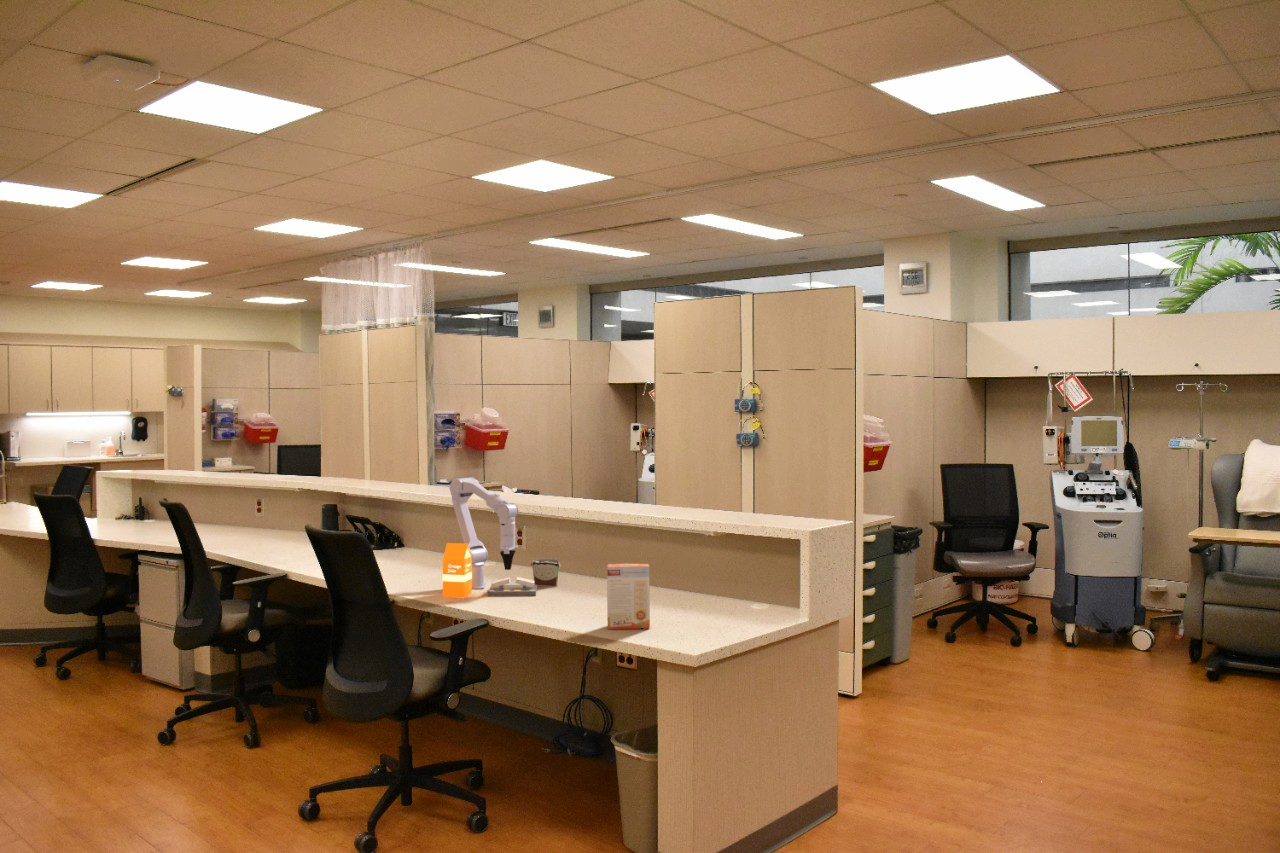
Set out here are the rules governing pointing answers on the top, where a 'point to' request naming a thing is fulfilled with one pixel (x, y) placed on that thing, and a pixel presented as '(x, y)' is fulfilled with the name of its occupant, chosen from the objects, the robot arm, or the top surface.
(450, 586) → the orange juice
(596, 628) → the top surface
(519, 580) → the plate
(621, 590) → the cracker box
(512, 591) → the switch board
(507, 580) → the rocker
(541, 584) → the food container
